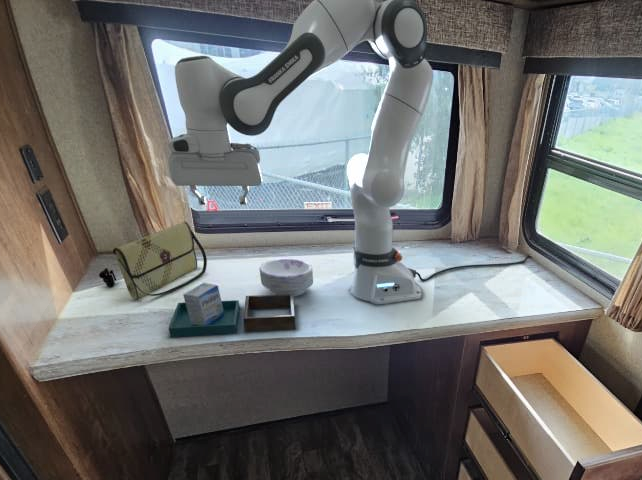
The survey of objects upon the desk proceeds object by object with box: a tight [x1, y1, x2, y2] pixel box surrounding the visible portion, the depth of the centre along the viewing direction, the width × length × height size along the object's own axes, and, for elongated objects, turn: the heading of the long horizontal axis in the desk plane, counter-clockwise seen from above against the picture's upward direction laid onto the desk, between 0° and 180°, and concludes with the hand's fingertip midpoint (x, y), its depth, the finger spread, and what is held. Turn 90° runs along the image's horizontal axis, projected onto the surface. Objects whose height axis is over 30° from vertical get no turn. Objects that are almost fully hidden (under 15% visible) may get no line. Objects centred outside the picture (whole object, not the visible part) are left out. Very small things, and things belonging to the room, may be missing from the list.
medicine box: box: [183, 282, 224, 326], centre depth 112 cm, size 8×4×9 cm, turn 167°
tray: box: [168, 299, 241, 338], centre depth 114 cm, size 15×14×3 cm
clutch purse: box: [112, 221, 208, 301], centre depth 126 cm, size 30×7×15 cm, turn 167°
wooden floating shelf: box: [242, 294, 297, 333], centre depth 118 cm, size 13×14×4 cm
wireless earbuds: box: [98, 268, 117, 288], centre depth 124 cm, size 7×2×5 cm, turn 14°
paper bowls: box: [259, 258, 314, 298], centre depth 131 cm, size 15×15×8 cm
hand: (223, 204), depth 109 cm, fingers open, 8 cm apart
